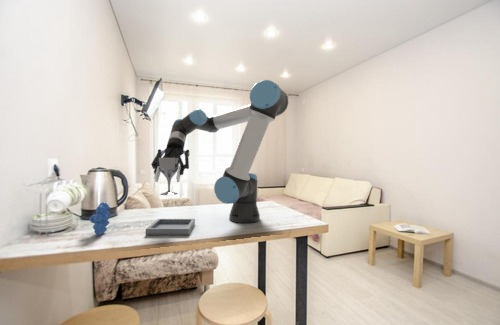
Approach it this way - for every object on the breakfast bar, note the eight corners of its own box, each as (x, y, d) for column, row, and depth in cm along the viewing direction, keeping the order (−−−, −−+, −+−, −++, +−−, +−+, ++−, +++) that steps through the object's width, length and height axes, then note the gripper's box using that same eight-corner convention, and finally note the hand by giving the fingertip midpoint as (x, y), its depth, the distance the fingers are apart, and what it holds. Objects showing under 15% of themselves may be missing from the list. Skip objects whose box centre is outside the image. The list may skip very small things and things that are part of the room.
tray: (194, 224, 102) (194, 218, 102) (188, 235, 87) (188, 228, 87) (158, 224, 100) (158, 218, 100) (145, 235, 85) (145, 229, 85)
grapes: (94, 229, 91) (95, 200, 91) (113, 228, 93) (114, 199, 93) (81, 239, 80) (82, 205, 80) (103, 238, 82) (104, 205, 82)
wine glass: (172, 195, 90) (172, 157, 90) (154, 194, 91) (154, 157, 91) (182, 192, 97) (182, 158, 97) (165, 192, 99) (165, 158, 99)
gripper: (199, 149, 111) (194, 185, 95) (155, 148, 109) (142, 186, 93) (197, 137, 105) (191, 173, 89) (151, 136, 103) (137, 173, 87)
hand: (166, 179), depth 91 cm, fingers closed on wine glass, 8 cm apart
